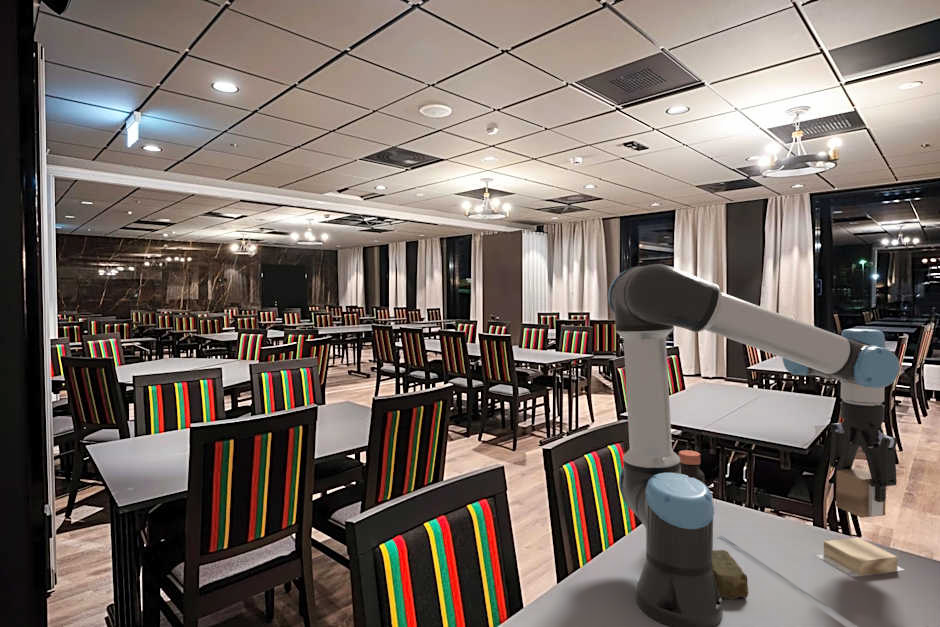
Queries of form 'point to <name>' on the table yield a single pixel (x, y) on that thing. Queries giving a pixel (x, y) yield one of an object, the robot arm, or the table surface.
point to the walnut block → (854, 491)
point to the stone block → (729, 576)
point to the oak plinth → (860, 556)
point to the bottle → (691, 464)
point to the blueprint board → (845, 567)
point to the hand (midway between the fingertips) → (860, 509)
